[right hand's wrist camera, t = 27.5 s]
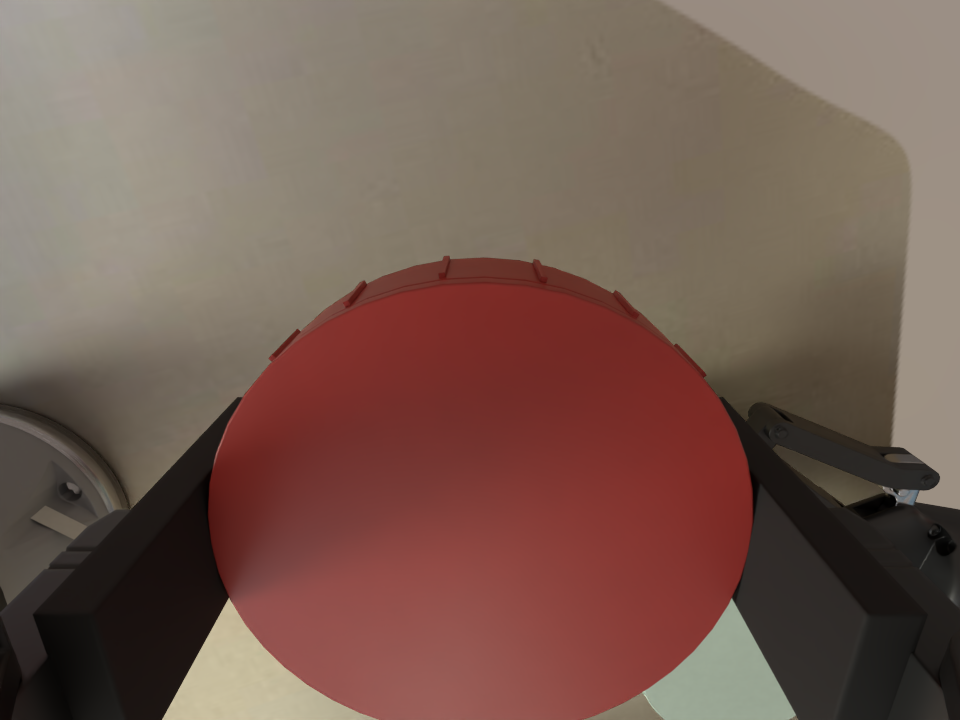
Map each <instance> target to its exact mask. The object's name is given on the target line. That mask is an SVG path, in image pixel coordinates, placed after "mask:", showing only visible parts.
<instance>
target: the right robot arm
mask: <svg viewBox="0 0 960 720" xmlns="http://www.w3.org/2000/svg"><path fill="white" fill-rule="evenodd" d="M242 398H243V397H237V398H236V399H235V400H234V402H233V403H232V404H231V405H230V406H229V407H228V408H227V409H226V410H225V411H224V412H223V413H222V414H221V415H220V416H219V417H218V418H217V420H216V421H215V422H214V423H213V424H212V425H211V426H210V427H209V428H208V429H207V430H206V431H205V432H204V433H203V434H202V435H201V436H200V438H199V439H198V440H197V441H196V442H195V443H194V444H193V445H192V446H191V447H190V448H189V449H188V450H187V451H186V452H185V453H184V454H183V455H182V457H181V458H180V459H179V460H178V461H177V462H176V463H175V464H174V465H173V466H172V467H171V468H170V469H169V470H168V471H167V472H166V473H165V475H164V476H163V477H162V478H161V479H160V480H159V481H158V482H157V483H156V484H155V485H154V486H153V487H152V488H151V489H150V490H149V491H148V493H147V494H146V495H145V496H144V497H143V498H142V499H141V500H140V501H139V502H138V503H137V504H136V505H135V506H134V507H133V508H132V509H128V505H127V501H126V498H125V495H124V492H123V490H122V488H121V486H120V484H119V482H118V480H117V479H116V477H115V475H114V474H113V472H112V471H111V469H110V468H109V467H108V465H107V464H106V463H105V462H104V460H103V459H102V458H101V457H100V456H99V455H98V454H97V453H96V452H95V451H94V450H93V449H92V448H91V447H90V446H89V445H88V444H87V443H85V442H84V441H83V440H82V439H81V438H79V437H78V436H76V435H75V434H74V433H72V432H71V431H69V430H68V429H66V428H64V427H63V426H61V425H59V424H58V423H56V422H54V421H52V420H50V419H48V418H45V417H43V416H41V415H39V414H36V413H33V412H30V411H27V410H24V409H20V408H17V407H13V406H7V405H2V404H0V720H162V718H163V717H164V715H165V713H166V711H167V709H168V708H169V706H170V704H171V702H172V700H173V698H174V697H175V695H176V693H177V691H178V689H179V688H180V686H181V684H182V682H183V680H184V678H185V677H186V675H187V673H188V671H189V669H190V668H191V666H192V664H193V662H194V660H195V658H196V657H197V655H198V653H199V651H200V649H201V647H202V646H203V644H204V642H205V640H206V638H207V637H208V635H209V633H210V631H211V629H212V627H213V626H214V624H215V622H216V620H217V618H218V617H219V615H220V613H221V611H222V609H223V607H224V606H225V604H226V602H227V600H228V598H229V596H228V593H227V591H226V589H225V586H224V584H223V582H222V579H221V577H220V575H219V572H218V569H217V565H216V561H215V557H214V553H213V549H212V544H211V539H210V530H209V521H208V502H209V483H210V479H211V474H212V469H213V465H214V460H215V456H216V452H217V449H218V447H219V444H220V442H221V439H222V437H223V434H224V432H225V429H226V426H227V424H228V422H229V420H230V418H231V417H232V415H233V413H234V412H235V410H236V408H237V407H238V405H239V403H240V402H241V400H242ZM719 399H720V400H721V402H722V404H723V406H724V407H725V409H726V411H727V413H728V415H729V416H730V418H731V420H732V422H733V424H734V426H735V427H736V429H737V432H738V435H739V438H740V441H741V443H742V446H743V449H744V452H745V454H746V457H747V461H748V466H749V472H750V477H751V483H752V488H753V527H752V533H751V538H750V543H749V549H748V553H747V558H746V562H745V566H744V570H743V573H742V576H741V579H740V581H739V584H738V586H737V588H736V590H735V592H734V594H733V596H732V599H733V601H734V603H735V605H736V607H737V609H738V610H739V612H740V614H741V616H742V618H743V620H744V621H745V623H746V625H747V627H748V629H749V630H750V632H751V634H752V636H753V638H754V640H755V641H756V643H757V645H758V647H759V649H760V650H761V652H762V654H763V656H764V658H765V660H766V661H767V663H768V665H769V667H770V669H771V670H772V672H773V674H774V676H775V678H776V680H777V681H778V683H779V685H780V687H781V689H782V690H783V692H784V694H785V696H786V698H787V700H788V701H789V703H790V705H791V707H792V709H793V710H794V712H795V714H796V716H797V718H798V720H960V609H959V608H958V607H957V606H956V605H955V604H954V603H953V602H952V601H951V600H950V599H949V598H948V597H947V596H946V595H945V594H944V593H943V592H942V591H941V590H940V589H939V588H938V587H937V586H936V585H935V584H934V583H933V582H932V581H931V580H930V579H929V578H928V577H927V576H926V575H925V574H924V573H923V572H922V571H921V570H920V569H918V568H917V567H913V565H912V562H911V561H910V560H909V559H908V558H907V557H906V556H905V555H904V554H903V553H902V552H901V551H900V550H896V549H895V545H894V544H893V543H892V542H891V541H890V540H889V539H888V538H887V537H886V536H885V535H884V534H883V533H882V532H881V531H880V530H879V529H878V528H876V527H875V526H874V525H873V524H871V523H870V522H868V521H866V520H865V519H863V518H861V517H860V516H858V515H856V514H855V513H853V512H851V511H850V510H848V509H846V508H827V507H826V506H825V505H824V504H823V503H822V502H821V501H820V499H819V498H818V497H817V496H816V495H815V494H814V493H813V492H812V491H811V490H810V489H809V488H808V487H807V486H806V485H805V484H804V483H803V482H802V480H801V479H800V478H799V477H798V476H797V475H796V474H795V473H794V472H793V471H792V470H791V469H790V468H789V467H788V466H787V465H786V464H785V462H784V461H783V460H782V459H781V458H780V457H779V456H778V455H777V454H776V453H775V452H774V451H773V450H772V449H771V448H770V447H769V446H768V445H767V443H766V442H765V441H764V440H763V439H762V438H761V437H760V436H759V435H758V434H757V433H756V432H755V431H754V430H753V429H752V428H751V427H750V425H749V424H748V423H747V422H746V421H745V420H744V419H743V418H742V417H741V416H740V415H739V414H738V413H737V412H736V411H735V410H734V409H733V407H732V406H731V405H730V404H729V403H728V402H727V401H726V400H725V399H724V398H723V397H719Z"/></svg>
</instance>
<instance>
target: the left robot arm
mask: <svg viewBox="0 0 960 720" xmlns="http://www.w3.org/2000/svg"><path fill="white" fill-rule="evenodd" d="M748 416H749V419H748V420H747V421H746V422H747V423H748V424H749V425H750V427H751V428H752V429H753V430H754V431H755V432H756V433H757V434H758V435H759V436H760V437H761V438H762V439H763V440H764V441H765V442H766V443H767V445H768V446H769V447H770V448H771V449H772V448H773V447H774V446H775V445H776V444H778V445H781V446H783V447H786V448H788V449H791V450H793V451H796V452H798V453H801V454H803V455H806V456H808V457H811V458H813V459H816V460H818V461H821V462H823V463H826V464H828V465H831V466H833V467H836V468H838V469H841V470H843V471H846V472H848V473H851V474H853V475H856V476H858V477H861V478H863V479H866V480H868V481H870V482H873V483H875V484H876V485H878V486H879V487H880V488H881V489H882V490H883V491H885V492H886V493H881V494H878V495H875V496H872V497H870V498H867V499H864V500H861V501H858V502H856V503H853V504H850V505H847V506H845V505H843V504H842V503H841V502H839V501H838V500H837V499H835V498H834V497H833V496H831V495H830V494H829V493H827V492H826V491H825V490H823V489H822V488H821V487H818V486H817V485H815V484H814V483H813V482H811V481H810V480H809V479H807V478H806V477H805V476H803V475H802V474H801V473H799V472H798V471H797V470H795V469H794V468H793V467H791V466H790V465H789V464H787V463H786V462H785V461H784V462H785V464H786V465H787V466H788V467H789V468H790V469H791V470H792V471H793V472H794V473H795V474H796V475H797V476H798V477H799V478H800V479H801V480H802V482H803V483H804V484H805V485H806V486H807V487H808V488H809V489H810V490H811V491H812V492H813V493H814V494H815V495H816V496H817V497H818V498H819V499H820V501H821V502H822V503H823V504H824V505H825V506H826V507H827V508H846V509H848V510H850V511H851V512H853V513H855V514H856V515H858V516H860V517H861V518H863V519H865V520H866V521H868V522H870V523H871V524H873V525H874V526H875V527H876V528H878V529H879V530H880V531H881V532H882V533H883V534H884V535H885V536H886V537H887V538H888V539H889V540H890V541H891V542H892V543H893V544H894V545H895V549H896V550H900V551H901V552H902V553H903V554H904V555H905V556H906V557H907V558H908V559H909V560H910V561H911V562H912V565H913V567H917V568H918V569H920V570H921V571H922V572H923V573H924V574H925V575H926V576H927V577H928V578H929V579H930V580H931V581H932V582H933V583H934V584H935V585H936V586H937V587H938V588H939V589H940V590H941V591H942V592H943V593H944V594H945V595H946V596H947V597H948V598H949V599H950V600H951V601H952V602H953V603H954V604H955V605H956V606H957V607H958V608H959V609H960V510H958V509H953V508H947V507H941V506H935V505H929V504H923V503H917V502H915V501H916V498H917V496H918V493H919V490H930V489H932V488H934V487H935V486H936V485H937V484H938V482H939V480H940V476H939V474H938V473H937V472H936V471H934V470H933V469H932V468H930V467H929V466H927V465H926V464H925V463H923V462H922V461H921V460H919V459H918V458H917V457H915V456H913V455H912V454H911V453H909V452H908V451H907V450H905V449H904V448H900V447H877V446H869V445H866V444H864V443H861V442H859V441H856V440H854V439H852V438H849V437H847V436H844V435H842V434H840V433H837V432H835V431H832V430H830V429H827V428H825V427H823V426H820V425H818V424H815V423H813V422H810V421H808V420H806V419H803V418H801V417H798V416H796V415H793V414H791V413H789V412H786V411H784V410H781V409H779V408H777V407H774V406H772V405H769V404H767V403H763V402H759V403H756V404H754V405H752V407H751V408H750V409H749V412H748Z"/></svg>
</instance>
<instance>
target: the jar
mask: <svg viewBox="0 0 960 720" xmlns="http://www.w3.org/2000/svg"><path fill="white" fill-rule="evenodd" d="M643 694H644V695H645V697H646V698H647V700H648V702H649V703H650V705H651V706H652V707H653V709H654V710H655V711H656V712H657V713H658V714H659V715H660V716H661V717H662V718H663V719H665V720H789V719H791V718H793V717H794V716H796V714H795V712H794V710H793V709H792V707H791V705H790V703H789V701H788V700H787V698H786V696H785V694H784V692H783V690H782V689H781V687H780V685H779V683H778V681H777V680H776V678H775V676H774V674H773V672H772V670H771V669H770V667H769V665H768V663H767V661H766V660H765V658H764V656H763V654H762V652H761V650H760V649H759V647H758V645H757V643H756V641H755V640H754V638H753V636H752V634H751V632H750V630H749V629H748V627H747V625H746V623H745V621H744V620H743V618H742V616H741V614H740V612H739V610H738V609H737V607H736V605H735V603H734V601H733V599H731V601H730V603H729V605H728V606H727V608H726V609H725V611H724V613H723V614H722V616H721V617H720V619H719V620H718V622H717V623H716V625H715V626H714V628H713V629H712V631H711V632H710V633H709V634H708V635H707V637H706V638H705V639H704V640H703V641H702V642H701V644H700V645H699V646H698V647H697V648H696V649H695V651H694V652H693V653H692V654H690V655H689V656H688V657H687V658H686V659H685V660H684V661H683V662H682V663H681V664H680V665H678V666H677V667H676V668H675V669H674V670H673V671H672V672H671V673H669V674H668V675H666V676H665V677H664V678H662V679H661V680H660V681H658V682H657V683H655V684H654V685H653V686H651V687H650V688H649V689H647V690H645V691H643Z"/></svg>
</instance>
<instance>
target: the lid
mask: <svg viewBox="0 0 960 720" xmlns="http://www.w3.org/2000/svg"><path fill="white" fill-rule="evenodd" d="M269 360H271V361H272V363H271V364H270V365H269V366H268V367H267V368H266V369H265V370H264V372H263V373H262V374H261V375H260V376H259V378H258V379H257V380H256V381H255V382H254V384H253V385H252V386H251V387H250V389H249V390H248V391H247V392H246V393H245V395H244V397H243V398H242V400H241V402H240V403H239V405H238V407H237V408H236V410H235V412H234V413H233V415H232V417H231V418H230V420H229V422H228V424H227V426H226V429H225V432H224V434H223V437H222V439H221V442H220V444H219V447H218V449H217V452H216V456H215V460H214V465H213V469H212V474H211V479H210V483H209V502H208V521H209V530H210V539H211V544H212V549H213V553H214V557H215V561H216V565H217V569H218V572H219V575H220V577H221V579H222V582H223V584H224V586H225V589H226V591H227V593H228V596H229V598H230V600H231V602H232V603H233V605H234V607H235V608H236V610H237V611H238V613H239V615H240V616H241V618H242V620H243V621H244V623H245V624H246V626H247V627H248V628H249V629H250V631H251V632H252V633H253V634H254V636H255V637H256V638H257V639H258V641H259V642H260V643H261V644H262V646H263V647H264V648H265V649H266V650H267V651H268V652H269V653H270V654H271V655H273V656H274V657H275V658H276V659H277V660H278V661H279V662H280V663H281V664H282V665H283V666H284V667H285V668H286V669H288V670H289V671H290V672H292V673H293V674H294V675H295V676H297V677H298V678H299V679H301V680H302V681H303V682H305V683H306V684H307V685H309V686H310V687H312V688H314V689H315V690H317V691H319V692H320V693H322V694H324V695H325V696H327V697H329V698H330V699H332V700H334V701H336V702H338V703H340V704H342V705H344V706H346V707H349V708H351V709H353V710H355V711H357V712H359V713H362V714H365V715H367V716H370V717H373V718H376V719H379V720H583V719H586V718H589V717H592V716H595V715H597V714H600V713H602V712H604V711H606V710H609V709H611V708H613V707H615V706H618V705H620V704H622V703H624V702H626V701H628V700H629V699H631V698H633V697H635V696H636V695H638V694H640V693H642V692H643V691H645V690H647V689H649V688H650V687H651V686H653V685H654V684H655V683H657V682H658V681H660V680H661V679H662V678H664V677H665V676H666V675H668V674H669V673H671V672H672V671H673V670H674V669H675V668H676V667H677V666H678V665H680V664H681V663H682V662H683V661H684V660H685V659H686V658H687V657H688V656H689V655H690V654H692V653H693V652H694V651H695V649H696V648H697V647H698V646H699V645H700V644H701V642H702V641H703V640H704V639H705V638H706V637H707V635H708V634H709V633H710V632H711V631H712V629H713V628H714V626H715V625H716V623H717V622H718V620H719V619H720V617H721V616H722V614H723V613H724V611H725V609H726V608H727V606H728V605H729V603H730V601H731V599H732V596H733V594H734V592H735V590H736V588H737V586H738V584H739V581H740V579H741V576H742V573H743V570H744V566H745V562H746V558H747V553H748V549H749V543H750V538H751V533H752V527H753V488H752V483H751V477H750V472H749V466H748V461H747V457H746V454H745V452H744V449H743V446H742V443H741V441H740V438H739V435H738V432H737V429H736V427H735V426H734V424H733V422H732V420H731V418H730V416H729V415H728V413H727V411H726V409H725V407H724V406H723V404H722V402H721V400H720V399H719V397H718V396H717V395H716V394H715V392H714V391H713V390H712V388H711V387H710V386H709V385H708V383H707V382H706V381H705V379H704V377H705V376H706V374H705V372H704V371H703V370H702V369H701V368H700V367H699V366H698V365H697V364H696V363H695V362H694V361H693V360H692V359H691V358H690V357H689V356H688V355H687V354H686V353H685V352H684V350H683V349H682V348H681V347H680V346H679V345H678V344H675V345H673V344H672V343H671V342H670V341H669V340H668V339H667V338H666V337H665V336H664V335H663V334H662V333H661V332H660V331H659V330H658V329H657V328H656V327H655V326H654V325H653V324H652V323H651V322H650V321H649V320H648V319H647V318H645V317H644V316H643V315H642V314H641V313H640V312H639V311H637V310H636V309H634V308H633V307H632V306H631V305H630V303H629V302H628V301H627V300H626V299H625V298H624V297H623V296H622V295H621V294H620V293H619V292H618V291H616V290H615V292H614V293H611V292H609V291H607V290H605V289H603V288H601V287H599V286H597V285H596V284H594V283H592V282H590V281H588V280H586V279H584V278H581V277H578V276H575V275H572V274H570V273H567V272H564V271H561V270H558V269H556V268H553V267H548V266H543V265H541V263H540V261H539V260H536V259H534V260H533V263H529V262H524V261H520V260H508V259H496V258H467V259H450V256H444V257H443V261H438V262H433V263H427V264H422V265H416V266H413V267H410V268H407V269H404V270H401V271H398V272H394V273H391V274H388V275H385V276H382V277H380V278H378V279H376V280H374V281H372V282H370V283H368V284H366V282H365V280H364V281H362V282H360V283H359V284H358V285H357V286H356V288H355V289H354V290H353V291H352V292H350V293H349V294H347V295H346V296H344V297H343V298H341V299H340V300H338V301H337V302H335V303H334V304H332V305H331V306H329V307H328V308H326V309H325V310H324V311H323V312H322V313H321V314H319V315H318V316H317V317H316V318H315V319H314V320H313V321H312V322H311V323H309V324H308V325H307V326H306V327H305V328H304V329H303V330H302V331H299V330H298V329H297V330H296V331H295V332H294V333H293V334H292V335H291V336H290V337H289V338H288V339H287V340H286V341H285V342H284V343H283V344H282V345H281V346H280V347H279V348H278V349H277V350H276V351H275V352H274V353H273V354H272V355H271V356H270V357H269Z"/></svg>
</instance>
